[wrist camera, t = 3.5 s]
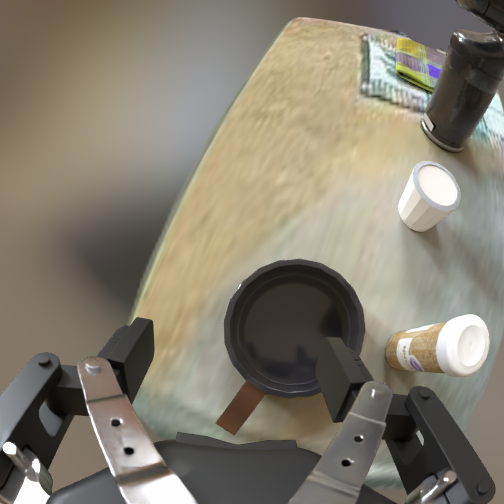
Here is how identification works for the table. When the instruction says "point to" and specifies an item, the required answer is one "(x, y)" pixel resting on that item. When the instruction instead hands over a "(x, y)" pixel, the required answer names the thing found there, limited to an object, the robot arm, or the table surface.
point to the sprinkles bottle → (441, 347)
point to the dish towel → (418, 63)
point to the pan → (290, 324)
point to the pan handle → (240, 408)
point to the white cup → (428, 196)
